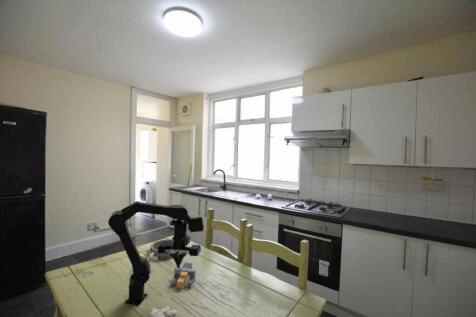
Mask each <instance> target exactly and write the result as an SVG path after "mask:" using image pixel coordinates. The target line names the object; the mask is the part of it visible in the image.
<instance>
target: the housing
mask: <svg viewBox="0 0 476 317" xmlns="http://www.w3.org/2000/svg"><path fill="white" fill-rule="evenodd" d="M173 272H174V273H173V274H174V275H173V276H172V278H171V279H170V285H171V286H177V280H178V278H179V276H180V274H181V272H189V273H190V275H189V276H188V278H187V280H186V287H187V288H192V286H193V285H194V283H195V281H196V272H197V271H196V268H192V269H190V268H182V267H181V266H180V268H178V267H177V266H176V267H175V269H174V270H173Z"/></svg>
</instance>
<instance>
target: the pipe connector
mask: <svg viewBox="0 0 476 317" xmlns="http://www.w3.org/2000/svg"><path fill="white" fill-rule="evenodd" d="M150 248H151V247H149V248H146V255H140V256H141V258H142V259H143V260H145V259H146V258H147V261H148V263H149V265H150V266H151V261H153V262H154V261H156V262H157V261H158V257H152V256H153V255H154V253H153V252H152V253H151V254H150Z"/></svg>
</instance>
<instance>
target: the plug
mask: <svg viewBox="0 0 476 317" xmlns="http://www.w3.org/2000/svg"><path fill="white" fill-rule="evenodd" d="M181 266H182V267H181V268H190V269H193V263H192V262H184V263H183V265H181ZM189 276H190V273H189V272H181V273H180V276H179V278H178V280H177V284H176V289H184V287H185V284H186V283H187V281H188V279H189Z"/></svg>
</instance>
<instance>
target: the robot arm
mask: <svg viewBox="0 0 476 317" xmlns="http://www.w3.org/2000/svg"><path fill="white" fill-rule="evenodd" d="M138 213H141V214H150V215H158V216H159V215H160V216H165V217H169V218H171V220H170V221H169V225H170V226H173V237H172V238H171V239H172V240H173V246H171V243H168V242H163V243H162V244H161V245H160V246H159V247H158V249H157V250H158V251H157V252H158V253H164V252H165V251H166V250H170V256H172V257H171V258H172V259H173V262H174V263H175V265H176V267H178V268H180V267H181V266H182V263H183V260H184V258H185V257H186V256H187V255H189V256H190V257H198V256H199V255H200V253H201V252H202V247H201V245H200V244H192V245H191V246H188V245H189V244H190V243H191V236H188V233H187V231H189V232H190V233H199V232H203V231H204V221H203V217H202V216H197V217H196V216H195V217H191V216H190V215H189V213H188V210H187V209H186V207H185V206H184V205H183V204H172V205H165V204H164V205H163V204H157V203H156V204H155V203H149V202H142V201H139V200H138V201H133V203H131V204H130V205H127V206H125V207H124V208H122V209H121V210H115V211H114V212H112V213H111V215H110V217H109V219H108V222H107V223H108V224H107V225H108V226H109V228H110V229H111V230H112V231H113V232H114V233H115V235H117V236H118V238H119V241H120V242H121V245H122V246H123V249H124V251H125V253H126V255H127V258H128V260H129V262H130V264H131V268H132V274H131V275H129V283H128V298H127V299H126V300H125V301H124V303H125V304H129V305H135V306H136V305H137V306H139V305H141V303H142V302H143V301H144V300H145V298H147V297H148V293H145V284H146V283H147V282H148V281H149V279H150V276H151V275H150V274H151V264H150V265H149V263H148V261H147V258H146V259H145V260H143V259H142V258H141V256H142V255H141V254H140V252H139V250H138V247H137V246H136V243H135V241H134V238H133V236H132V234H131V232H130V230H129V224H128V223H129V222H128V220H130V219H131V218H132V217H134V216H135V215H136V214H138Z"/></svg>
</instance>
